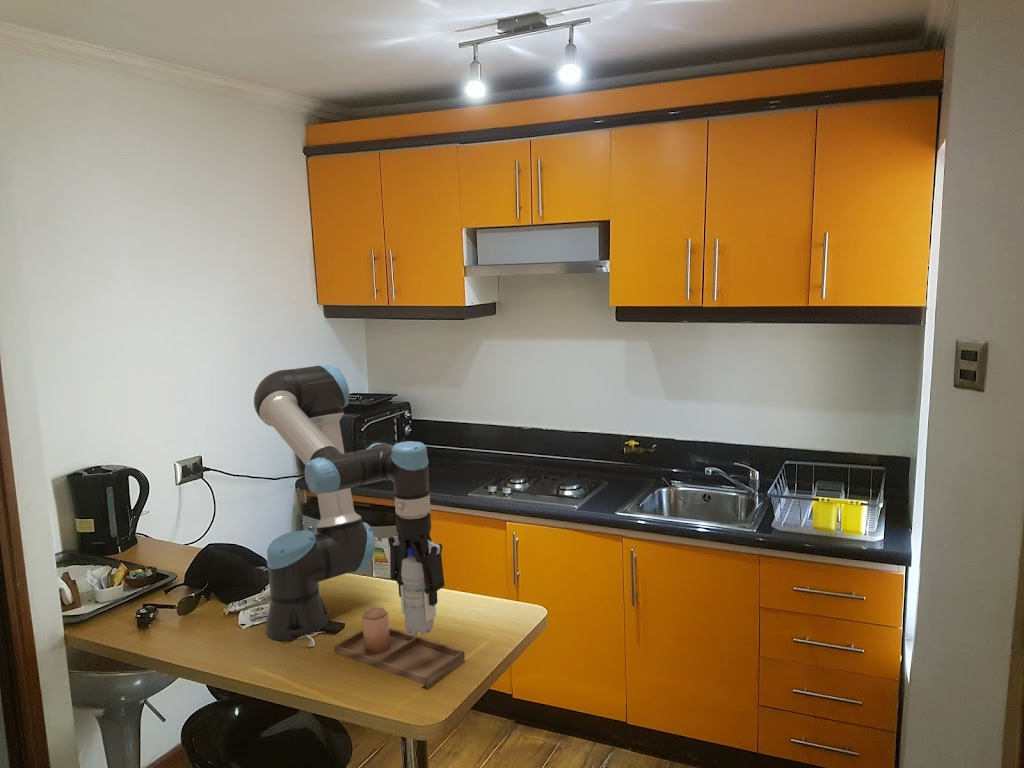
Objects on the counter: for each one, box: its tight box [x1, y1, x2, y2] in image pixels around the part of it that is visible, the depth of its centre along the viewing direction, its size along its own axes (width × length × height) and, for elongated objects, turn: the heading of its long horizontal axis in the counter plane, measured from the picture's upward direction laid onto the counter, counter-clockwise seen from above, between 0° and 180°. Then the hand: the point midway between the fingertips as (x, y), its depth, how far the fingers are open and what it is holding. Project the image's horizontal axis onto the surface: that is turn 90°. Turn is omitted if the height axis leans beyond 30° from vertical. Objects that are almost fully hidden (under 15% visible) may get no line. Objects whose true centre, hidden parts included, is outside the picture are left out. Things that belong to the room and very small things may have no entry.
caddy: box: [334, 627, 466, 690], centre depth 173 cm, size 28×13×2 cm, turn 56°
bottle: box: [401, 547, 435, 637], centre depth 166 cm, size 7×7×20 cm
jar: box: [361, 606, 390, 654], centre depth 176 cm, size 6×6×9 cm
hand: (419, 614), depth 167 cm, fingers closed on bottle, 6 cm apart
